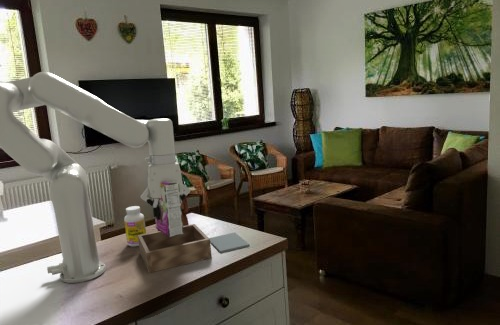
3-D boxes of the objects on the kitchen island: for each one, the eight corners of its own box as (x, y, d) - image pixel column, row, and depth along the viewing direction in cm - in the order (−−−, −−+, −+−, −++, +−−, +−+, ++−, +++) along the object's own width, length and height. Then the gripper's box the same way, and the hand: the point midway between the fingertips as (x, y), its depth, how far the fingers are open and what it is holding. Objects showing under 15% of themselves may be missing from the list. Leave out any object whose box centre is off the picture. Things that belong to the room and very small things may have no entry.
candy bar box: (154, 228, 133) (150, 178, 130) (169, 225, 135) (165, 176, 133) (168, 238, 123) (164, 184, 121) (184, 234, 126) (180, 181, 123)
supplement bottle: (126, 248, 140) (121, 211, 138) (128, 241, 147) (123, 206, 144) (147, 245, 142) (142, 209, 139) (147, 238, 148) (143, 204, 146)
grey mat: (220, 252, 130) (220, 251, 130) (207, 240, 142) (207, 238, 142) (249, 245, 134) (249, 244, 134) (235, 234, 146) (234, 232, 146)
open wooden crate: (149, 272, 120) (146, 253, 119) (140, 252, 135) (137, 235, 134) (211, 257, 127) (209, 239, 126) (196, 240, 142) (194, 223, 141)
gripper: (135, 164, 119) (141, 225, 122) (193, 158, 125) (198, 215, 128) (132, 161, 126) (137, 218, 129) (187, 155, 132) (191, 209, 135)
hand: (167, 216), depth 129 cm, fingers closed on candy bar box, 5 cm apart
